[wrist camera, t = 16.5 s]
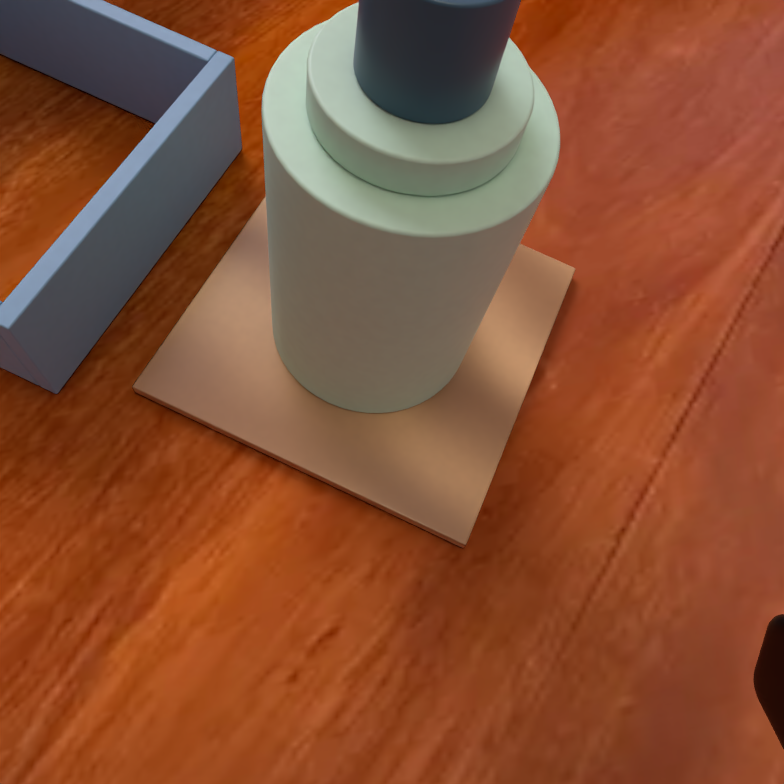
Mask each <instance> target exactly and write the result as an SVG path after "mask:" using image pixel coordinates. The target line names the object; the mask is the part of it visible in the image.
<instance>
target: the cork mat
mask: <svg viewBox="0 0 784 784" xmlns="http://www.w3.org/2000/svg"><path fill="white" fill-rule="evenodd" d="M574 272H575V268H573V267H571V266H569V265H567V264H564V263H562V262H560V261H558V260H555V259H553V258H551V257H549V256H546V255H544V254H542V253H540V252H537V251H535V250H533V249H531V248H528V247H526V246H524V245H522V244H519V246H518V248H517V250H516V252H515V254H514V256H513V258H512V260H511V262H510V264H509V266H508V268H507V270H506V272H505V274H504V276H503V278H502V281H501V283H500V285H499V287H498V289H497V291H496V293H495V295H494V297H493V299H492V301H491V303H490V305H489V307H488V309H487V311H486V313H485V315H484V317H483V319H482V321H481V323H480V325H479V328H478V330H477V332H476V334H475V336H474V338H473V340H472V342H471V344H470V346H469V348H468V350H467V352H466V354H465V356H464V358H463V360H462V362H461V364H460V366H459V368H458V370H457V371H456V373H455V375H454V376H453V377H452V379H451V380H450V381H449V383H448V384H447V385H446V386H444V387H443V388H442V389H441V390H440V391H439V392H438V393H436V394H435V395H434V396H432V397H431V398H429V399H428V400H426V401H424V402H422V403H420V404H418V405H415V406H413V407H410V408H407V409H403V410H399V411H395V412H387V413H364V412H357V411H352V410H348V409H344V408H341V407H338V406H335V405H333V404H330V403H328V402H326V401H324V400H322V399H321V398H319V397H317V396H315V395H314V394H313V393H311V392H310V391H308V390H307V389H306V388H305V387H304V386H302V385H301V384H300V383H299V382H298V381H297V380H296V379H295V378H294V376H293V375H292V374H291V373H290V372H289V370H288V369H287V367H286V366H285V364H284V362H283V361H282V359H281V357H280V355H279V352H278V350H277V347H276V344H275V340H274V336H273V327H272V310H271V290H270V270H269V250H268V229H267V209H266V196H265V198H264V199H263V200H262V202H261V203H260V205H259V206H258V208H257V209H256V210H255V212H254V213H253V215H252V216H251V218H250V219H249V220H248V222H247V223H246V225H245V226H244V228H243V229H242V230H241V232H240V233H239V235H238V236H237V238H236V239H235V240H234V242H233V243H232V245H231V246H230V248H229V249H228V250H227V252H226V253H225V255H224V256H223V258H222V259H221V260H220V262H219V263H218V265H217V266H216V268H215V269H214V270H213V272H212V273H211V275H210V276H209V278H208V279H207V280H206V282H205V283H204V285H203V286H202V288H201V289H200V290H199V292H198V293H197V295H196V296H195V298H194V299H193V300H192V302H191V303H190V305H189V306H188V308H187V309H186V310H185V312H184V313H183V315H182V316H181V318H180V319H179V320H178V322H177V323H176V325H175V326H174V328H173V329H172V330H171V332H170V333H169V335H168V336H167V338H166V339H165V340H164V342H163V343H162V345H161V346H160V348H159V349H158V350H157V352H156V353H155V355H154V356H153V358H152V359H151V360H150V362H149V363H148V365H147V366H146V367H145V369H144V370H143V372H142V373H141V375H140V376H139V377H138V379H137V380H136V382H135V383H134V385H133V386H132V388H133V390H134V391H135V392H136V393H138V394H140V395H142V396H144V397H146V398H148V399H151V400H153V401H155V402H157V403H159V404H161V405H163V406H165V407H167V408H169V409H172V410H174V411H176V412H178V413H180V414H182V415H184V416H186V417H188V418H190V419H193V420H195V421H197V422H199V423H201V424H203V425H205V426H207V427H209V428H211V429H214V430H216V431H218V432H220V433H222V434H224V435H226V436H228V437H230V438H233V439H235V440H237V441H239V442H241V443H243V444H245V445H247V446H249V447H251V448H254V449H256V450H258V451H260V452H262V453H264V454H266V455H268V456H270V457H272V458H275V459H277V460H279V461H281V462H283V463H285V464H287V465H289V466H291V467H293V468H296V469H298V470H300V471H302V472H304V473H306V474H308V475H310V476H312V477H314V478H317V479H319V480H321V481H323V482H325V483H327V484H329V485H331V486H333V487H335V488H338V489H340V490H342V491H344V492H346V493H348V494H350V495H352V496H354V497H356V498H359V499H361V500H363V501H365V502H367V503H369V504H371V505H373V506H375V507H377V508H380V509H382V510H384V511H386V512H388V513H390V514H392V515H394V516H396V517H398V518H401V519H403V520H405V521H407V522H409V523H411V524H413V525H415V526H417V527H420V528H422V529H424V530H426V531H428V532H430V533H432V534H434V535H436V536H438V537H441V538H443V539H445V540H447V541H449V542H451V543H453V544H455V545H457V546H459V547H462V548H463V547H464V546H465V545H466V544H467V542H468V539H469V537H470V534H471V531H472V529H473V526H474V524H475V521H476V519H477V516H478V514H479V511H480V509H481V506H482V504H483V501H484V499H485V496H486V494H487V491H488V489H489V486H490V484H491V481H492V479H493V476H494V474H495V471H496V469H497V466H498V463H499V461H500V458H501V456H502V453H503V451H504V448H505V446H506V443H507V441H508V438H509V436H510V433H511V431H512V428H513V426H514V423H515V421H516V418H517V416H518V413H519V411H520V408H521V406H522V403H523V401H524V398H525V395H526V393H527V390H528V388H529V385H530V383H531V380H532V378H533V375H534V373H535V370H536V368H537V365H538V363H539V360H540V358H541V355H542V353H543V350H544V348H545V345H546V343H547V340H548V338H549V335H550V332H551V330H552V327H553V325H554V322H555V320H556V317H557V315H558V312H559V310H560V307H561V305H562V302H563V300H564V297H565V295H566V292H567V290H568V287H569V285H570V282H571V280H572V277H573V275H574Z"/></svg>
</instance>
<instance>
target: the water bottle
mask: <svg viewBox="0 0 784 784" xmlns="http://www.w3.org/2000/svg"><path fill="white" fill-rule="evenodd" d="M520 2H521V0H359V2H358V3H356V4H353V5H351V6H349V7H347V8H345V9H343V10H342V11H340V12H338V13H337V14H335V15H334V16H333V17H332V18H330V19H329V20H327V21H325V22H323V23H320V24H318V25H316V26H314V27H313V28H311V29H309V30H308V31H306V32H304V33H303V34H301V35H300V36H299V37H298V38H296V39H295V40H294V41H293V42H291V43H290V44H289V46H288V47H287V48H286V49H285V50H284V51H283V52H282V53H281V54H280V56H279V57H278V59H277V60H276V62H275V64H274V65H273V67H272V69H271V71H270V73H269V76H268V78H267V80H266V83H265V87H264V91H263V96H262V129H263V149H264V169H265V189H266V209H267V229H268V250H269V270H270V290H271V310H272V327H273V336H274V340H275V344H276V347H277V350H278V352H279V355H280V357H281V359H282V361H283V362H284V364H285V366H286V367H287V369H288V370H289V372H290V373H291V374H292V375H293V376H294V378H295V379H296V380H297V381H298V382H299V383H300V384H301V385H302V386H304V387H305V388H306V389H307V390H308V391H310V392H311V393H313V394H314V395H315V396H317V397H319V398H321V399H322V400H324V401H326V402H328V403H330V404H333V405H335V406H338V407H341V408H344V409H348V410H352V411H357V412H364V413H387V412H395V411H399V410H403V409H407V408H410V407H413V406H415V405H418V404H420V403H422V402H424V401H426V400H428V399H429V398H431V397H432V396H434V395H435V394H436V393H438V392H439V391H440V390H441V389H442V388H443V387H444V386H446V385H447V384H448V383H449V381H450V380H451V379H452V377H453V376H454V375H455V373H456V371H457V370H458V368H459V366H460V364H461V362H462V360H463V358H464V356H465V354H466V352H467V350H468V348H469V346H470V344H471V342H472V340H473V338H474V336H475V334H476V332H477V330H478V328H479V325H480V323H481V321H482V319H483V317H484V315H485V313H486V311H487V309H488V307H489V305H490V303H491V301H492V299H493V297H494V295H495V293H496V291H497V289H498V287H499V285H500V283H501V281H502V278H503V276H504V274H505V272H506V270H507V268H508V266H509V264H510V262H511V260H512V258H513V256H514V254H515V252H516V250H517V248H518V246H519V244H520V242H521V240H522V238H523V236H524V234H525V231H526V229H527V227H528V225H529V223H530V221H531V219H532V217H533V215H534V213H535V211H536V209H537V207H538V205H539V203H540V201H541V199H542V197H543V195H544V193H545V191H546V189H547V187H548V185H549V182H550V180H551V178H552V176H553V174H554V171H555V168H556V165H557V162H558V158H559V151H560V129H559V123H558V118H557V114H556V111H555V108H554V105H553V102H552V100H551V98H550V96H549V94H548V92H547V90H546V89H545V87H544V86H543V84H542V83H541V81H540V80H539V78H538V77H537V75H536V74H535V73H534V72H533V71H532V70H531V69H530V67H529V66H528V64H527V62H526V60H525V58H524V56H523V55H522V53H521V52H520V50H519V49H518V47H517V46H516V45H515V44H514V43H513V41H512V40H511V39H510V38H509V36H510V32H511V29H512V26H513V23H514V20H515V17H516V14H517V11H518V8H519V5H520Z"/></svg>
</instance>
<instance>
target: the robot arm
mask: <svg viewBox="0 0 784 784" xmlns="http://www.w3.org/2000/svg"><path fill="white" fill-rule="evenodd" d="M754 687H755V691H756V694H757V697H758V699H759V702H760V703H761V705H762V707H763V709H764V711H765V713H766V715H767V717H768V719H769V721H770V723H771V725H772V727H773V729H774V731H775V733H776V735H777V737H778V739H779V741H780V743H781V745H782V747H783V749H784V614H781V615H778V616H775V617H774V618H773V619H772V620H771V621H770V622H769V625H768V627H767V630H766V634H765V637H764V640H763V644H762V647H761V650H760V654H759V657H758V660H757V664H756V667H755V671H754Z"/></svg>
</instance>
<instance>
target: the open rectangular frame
mask: <svg viewBox="0 0 784 784" xmlns="http://www.w3.org/2000/svg"><path fill="white" fill-rule="evenodd" d="M0 54H2V55H4V56H6V57H8V58H11V59H13V60H15V61H17V62H20V63H22V64H24V65H26V66H29V67H31V68H33V69H35V70H37V71H40V72H42V73H44V74H46V75H49V76H51V77H53V78H55V79H58V80H60V81H62V82H64V83H66V84H69V85H71V86H73V87H75V88H78V89H80V90H82V91H84V92H87V93H89V94H91V95H93V96H95V97H98V98H100V99H102V100H104V101H107V102H109V103H111V104H113V105H116V106H118V107H120V108H122V109H124V110H127V111H129V112H131V113H133V114H136V115H138V116H140V117H142V118H145V119H147V120H149V121H151V122H153V123H156V124H155V125H154V126H153V128H152V129H151V130H150V131H149V132H148V133H147V135H146V136H145V137H144V138H143V139H142V140H141V142H140V143H139V144H138V145H137V146H136V147H135V149H134V150H133V151H132V152H131V153H130V154H129V156H128V157H127V158H126V159H125V160H124V161H123V163H122V164H121V165H120V166H119V167H118V168H117V170H116V171H115V172H114V173H113V174H112V176H111V177H110V178H109V179H108V180H107V181H106V183H105V184H104V185H103V186H102V187H101V188H100V190H99V191H98V192H97V193H96V194H95V195H94V197H93V198H92V199H91V200H90V201H89V202H88V204H87V205H86V206H85V207H84V208H83V209H82V211H81V212H80V213H79V214H78V215H77V216H76V218H75V219H74V220H73V221H72V222H71V224H70V225H69V226H68V227H67V228H66V229H65V231H64V232H63V233H62V234H61V235H60V236H59V238H58V239H57V240H56V241H55V242H54V243H53V245H52V246H51V247H50V248H49V249H48V250H47V252H46V253H45V254H44V255H43V256H42V257H41V259H40V260H39V261H38V262H37V263H36V264H35V266H34V267H33V268H32V269H31V270H30V271H29V273H28V274H27V275H26V276H25V277H24V279H23V280H22V281H21V282H20V283H19V284H18V286H17V287H16V288H15V289H14V290H13V291H12V293H11V294H10V295H9V296H8V297H7V298H6V300H5V301H4V302H2V301H0V367H1V368H3V369H5V370H7V371H9V372H11V373H13V374H15V375H18V376H20V377H22V378H24V379H26V380H28V381H30V382H32V383H34V384H36V385H40V386H41V387H42V388H44V389H47V390H49V391H51V392H53V393H55V394H57V393H58V392H59V391H60V390H61V388H62V387H63V386H64V384H65V383H66V382H67V380H68V379H69V378H70V376H71V375H72V374H73V372H74V371H75V370H76V368H77V367H78V366H79V365H80V363H81V362H82V361H83V359H84V358H85V357H86V355H87V354H88V353H89V351H90V350H91V349H92V347H93V346H94V345H95V343H96V342H97V341H98V339H99V338H100V337H101V335H102V334H103V333H104V331H105V330H106V329H107V327H108V326H109V325H110V323H111V322H112V321H113V319H114V318H115V317H116V315H117V314H118V313H119V311H120V310H121V309H122V307H123V306H124V305H125V303H126V302H127V301H128V299H129V298H130V297H131V295H132V294H133V293H134V292H135V290H136V289H137V288H138V286H139V285H140V284H141V282H142V281H143V280H144V278H145V277H146V276H147V274H148V273H149V272H150V270H151V269H152V268H153V266H154V265H155V264H156V262H157V261H158V260H159V258H160V257H161V256H162V254H163V253H164V252H165V250H166V249H167V248H168V246H169V245H170V244H171V242H172V241H173V240H174V238H175V237H176V236H177V234H178V233H179V232H180V230H181V229H182V228H183V226H184V225H185V224H186V223H187V221H188V220H189V219H190V217H191V216H192V215H193V213H194V212H195V211H196V209H197V208H198V207H199V205H200V204H201V203H202V201H203V200H204V199H205V197H206V196H207V195H208V193H209V192H210V191H211V189H212V188H213V187H214V185H215V184H216V183H217V181H218V180H219V179H220V177H221V176H222V175H223V173H224V172H225V171H226V169H227V168H228V167H229V165H230V164H231V163H232V161H233V160H234V159H235V157H236V156H237V155H238V153H239V152H240V151H241V150H242V142H241V131H240V120H239V108H238V97H237V86H236V74H235V63H234V58H233V57H231V56H229V55H227V54H225V53H222V52H220V51H216V50H215V49H212V48H210V47H208V46H206V45H203V44H201V43H199V42H196V41H194V40H192V39H190V38H187V37H185V36H183V35H181V34H178V33H176V32H174V31H171V30H169V29H167V28H165V27H162V26H160V25H158V24H155V23H153V22H151V21H149V20H146V19H144V18H142V17H139V16H137V15H135V14H133V13H130V12H128V11H126V10H123V9H121V8H119V7H117V6H114V5H112V4H110V3H108V2H105V1H103V0H0Z"/></svg>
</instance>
